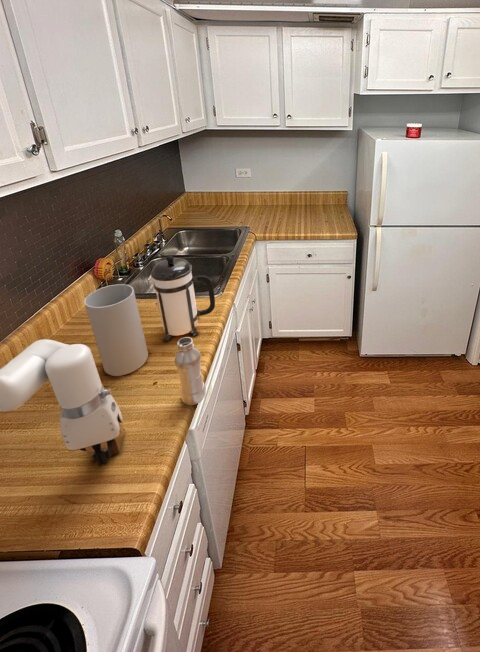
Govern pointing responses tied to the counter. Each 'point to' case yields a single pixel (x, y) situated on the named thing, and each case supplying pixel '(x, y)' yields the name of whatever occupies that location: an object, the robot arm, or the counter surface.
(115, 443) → the walnut block
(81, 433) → the robot arm
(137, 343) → the cylinder vase
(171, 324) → the coffee press
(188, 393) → the plastic bottle
